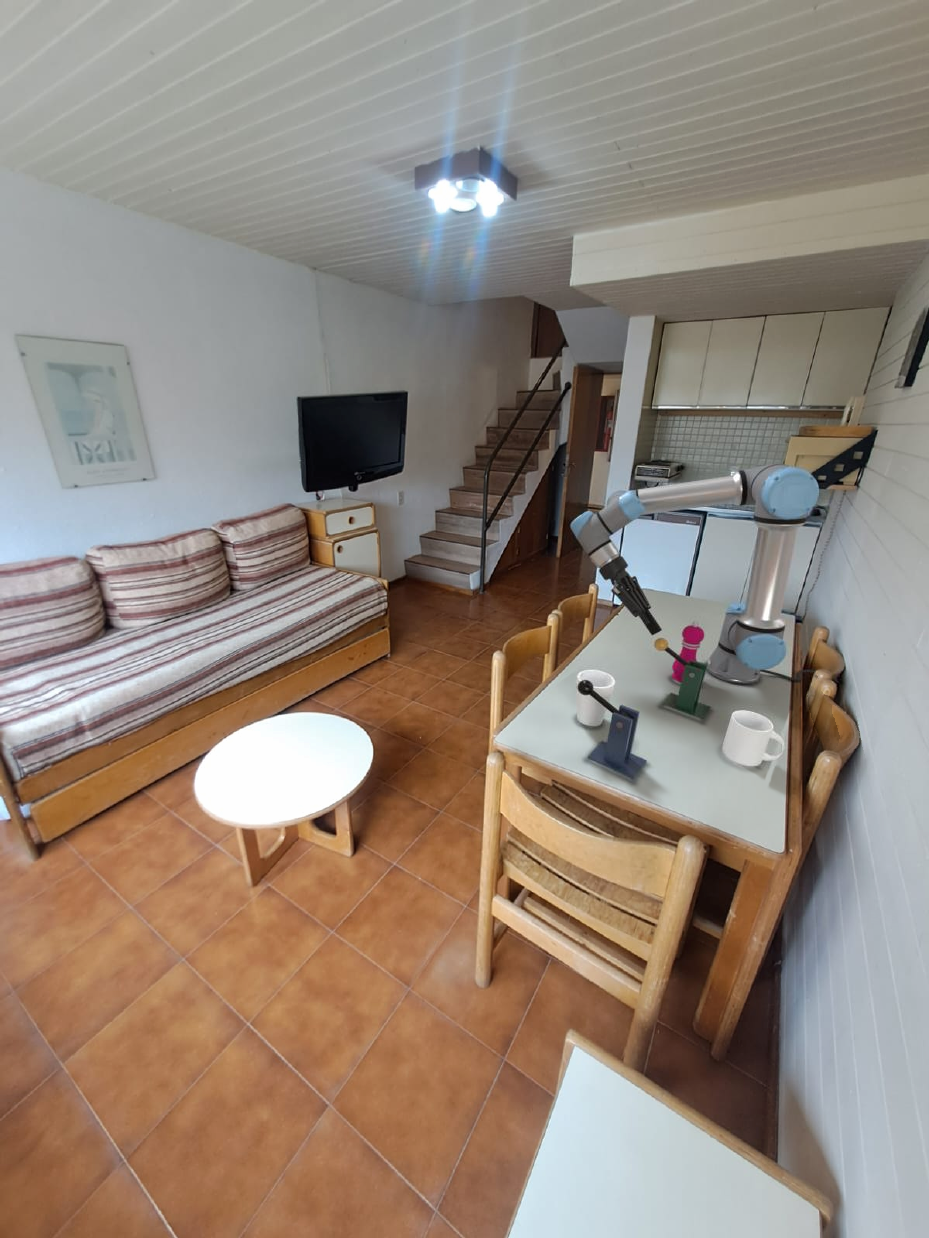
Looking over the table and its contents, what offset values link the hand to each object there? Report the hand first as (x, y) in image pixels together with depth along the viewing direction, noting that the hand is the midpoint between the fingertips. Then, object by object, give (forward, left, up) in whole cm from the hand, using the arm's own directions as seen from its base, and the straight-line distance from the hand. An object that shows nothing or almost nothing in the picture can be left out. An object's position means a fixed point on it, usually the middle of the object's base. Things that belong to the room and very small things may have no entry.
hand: (657, 632), depth 136 cm
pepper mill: (-14, -10, -20) cm, 26 cm away
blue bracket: (+14, +32, -20) cm, 41 cm away
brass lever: (-5, +3, -7) cm, 9 cm away
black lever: (+19, +29, -7) cm, 36 cm away
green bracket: (-10, +6, -20) cm, 23 cm away
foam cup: (+18, +16, -20) cm, 32 cm away
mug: (-18, +27, -20) cm, 38 cm away
